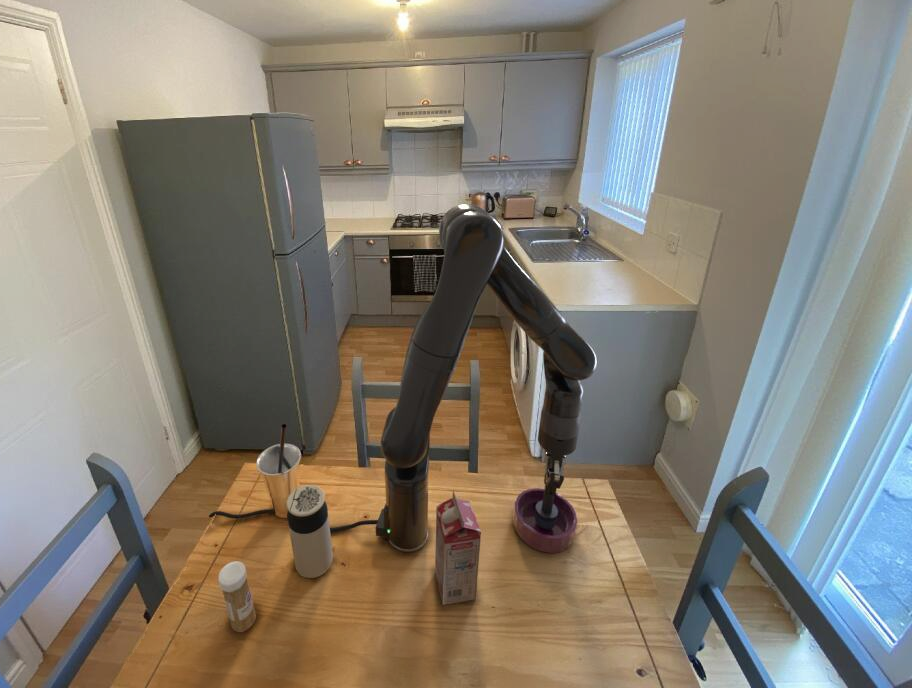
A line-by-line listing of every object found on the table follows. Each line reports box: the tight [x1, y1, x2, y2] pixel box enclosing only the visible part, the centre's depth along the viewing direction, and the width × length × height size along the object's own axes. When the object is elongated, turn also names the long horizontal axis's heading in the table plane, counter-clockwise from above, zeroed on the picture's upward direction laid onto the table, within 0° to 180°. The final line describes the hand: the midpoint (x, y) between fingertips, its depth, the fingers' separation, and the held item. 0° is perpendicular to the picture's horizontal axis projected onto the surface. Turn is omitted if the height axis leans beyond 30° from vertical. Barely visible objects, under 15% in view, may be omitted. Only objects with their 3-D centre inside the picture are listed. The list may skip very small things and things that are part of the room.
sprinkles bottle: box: [217, 560, 257, 633], centre depth 77 cm, size 5×5×14 cm
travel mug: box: [286, 484, 334, 579], centre depth 87 cm, size 8×8×18 cm
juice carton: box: [434, 490, 482, 606], centre depth 81 cm, size 7×7×22 cm
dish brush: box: [535, 475, 558, 529], centre depth 93 cm, size 5×5×15 cm
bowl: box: [512, 487, 578, 554], centre depth 96 cm, size 13×13×5 cm
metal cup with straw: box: [256, 423, 302, 519], centre depth 97 cm, size 11×11×30 cm
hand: (549, 488), depth 92 cm, fingers closed on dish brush
